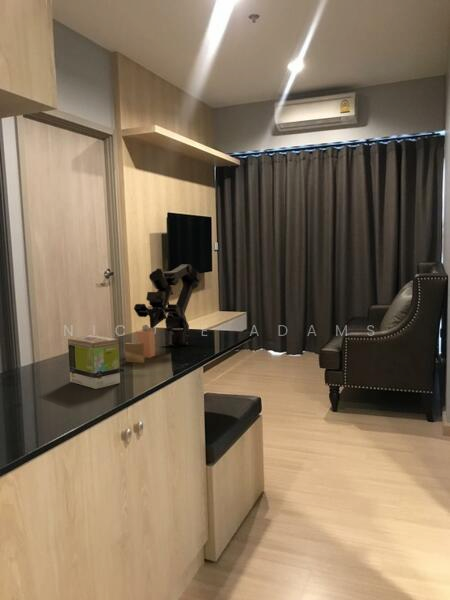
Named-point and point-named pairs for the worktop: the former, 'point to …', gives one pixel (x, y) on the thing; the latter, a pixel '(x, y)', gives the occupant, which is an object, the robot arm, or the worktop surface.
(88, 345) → the tea box
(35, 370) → the worktop surface
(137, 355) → the track
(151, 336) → the slider
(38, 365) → the worktop surface
